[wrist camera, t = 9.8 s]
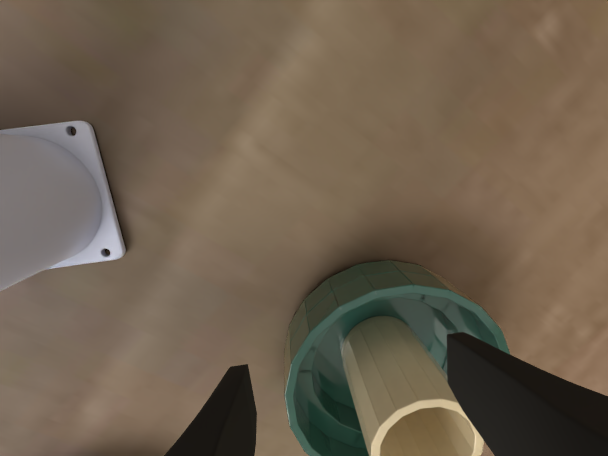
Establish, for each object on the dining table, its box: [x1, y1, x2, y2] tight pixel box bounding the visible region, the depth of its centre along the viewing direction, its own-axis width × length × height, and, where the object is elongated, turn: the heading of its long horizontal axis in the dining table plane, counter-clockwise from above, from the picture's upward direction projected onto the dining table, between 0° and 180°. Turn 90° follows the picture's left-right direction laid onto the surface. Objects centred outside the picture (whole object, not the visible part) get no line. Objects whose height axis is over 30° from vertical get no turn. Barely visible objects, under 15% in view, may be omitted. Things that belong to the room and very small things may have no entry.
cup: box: [341, 316, 484, 456], centre depth 18 cm, size 5×5×8 cm
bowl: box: [284, 260, 510, 456], centre depth 20 cm, size 13×13×4 cm
